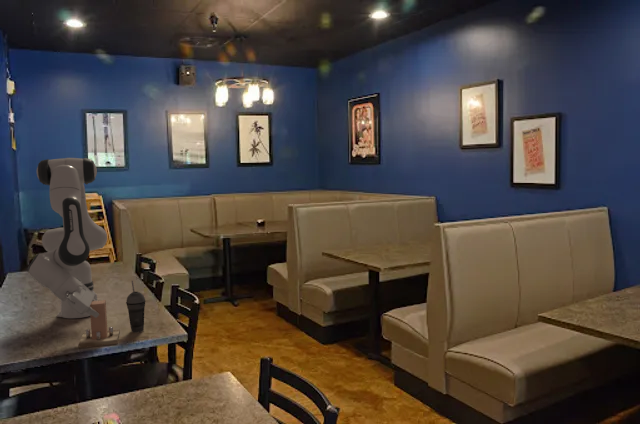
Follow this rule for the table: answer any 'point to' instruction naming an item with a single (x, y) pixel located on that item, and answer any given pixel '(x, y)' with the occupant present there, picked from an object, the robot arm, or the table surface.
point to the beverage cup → (136, 310)
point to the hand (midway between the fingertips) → (99, 312)
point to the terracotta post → (99, 319)
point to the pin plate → (99, 338)
